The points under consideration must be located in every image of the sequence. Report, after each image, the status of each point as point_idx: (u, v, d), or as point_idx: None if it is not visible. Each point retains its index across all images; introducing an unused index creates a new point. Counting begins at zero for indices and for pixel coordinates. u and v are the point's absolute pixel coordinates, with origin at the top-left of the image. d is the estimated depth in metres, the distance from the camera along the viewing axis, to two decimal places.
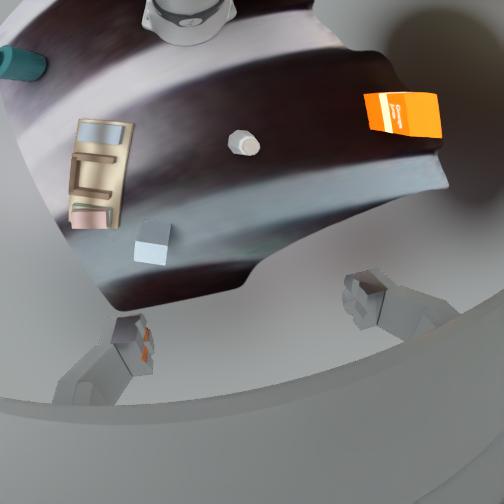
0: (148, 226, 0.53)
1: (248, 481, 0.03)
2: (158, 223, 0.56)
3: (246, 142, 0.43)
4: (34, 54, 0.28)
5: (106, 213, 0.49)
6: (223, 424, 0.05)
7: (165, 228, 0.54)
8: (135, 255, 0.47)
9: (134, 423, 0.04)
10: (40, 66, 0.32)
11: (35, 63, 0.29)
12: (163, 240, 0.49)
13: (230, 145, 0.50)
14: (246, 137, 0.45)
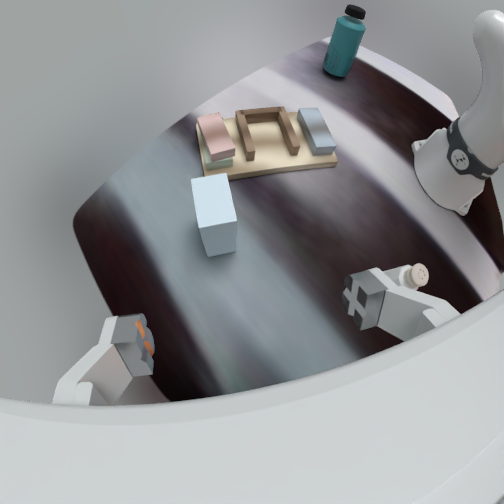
0: None
1: (248, 481, 0.03)
2: None
3: (421, 265, 0.29)
4: (353, 59, 0.47)
5: (230, 152, 0.38)
6: (223, 424, 0.05)
7: None
8: (200, 178, 0.30)
9: (134, 423, 0.04)
10: (343, 69, 0.49)
11: (347, 62, 0.46)
12: None
13: None
14: None
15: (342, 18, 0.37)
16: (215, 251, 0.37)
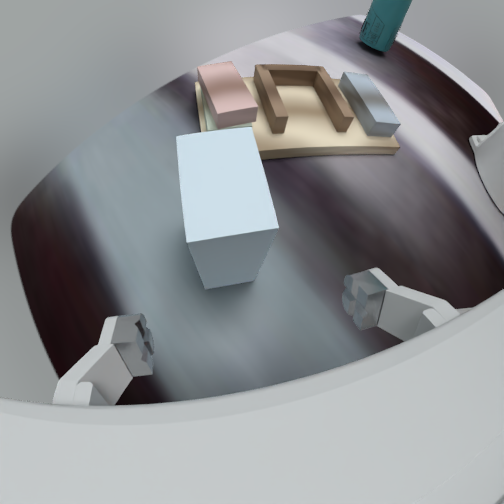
0: None
1: (248, 481, 0.03)
2: None
3: None
4: None
5: (250, 113, 0.22)
6: (223, 424, 0.05)
7: None
8: (197, 135, 0.13)
9: (134, 423, 0.04)
10: (385, 41, 0.33)
11: (391, 33, 0.31)
12: None
13: None
14: None
15: None
16: (219, 282, 0.20)
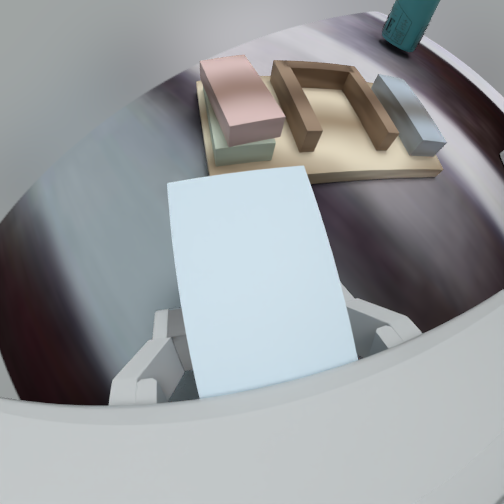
0: None
1: (248, 481, 0.03)
2: None
3: None
4: None
5: (273, 126, 0.16)
6: (223, 424, 0.05)
7: None
8: (206, 181, 0.07)
9: (135, 423, 0.04)
10: (412, 41, 0.27)
11: (418, 32, 0.25)
12: None
13: None
14: None
15: None
16: None
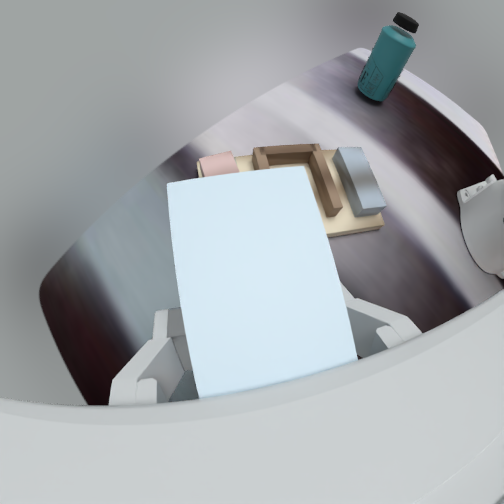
0: None
1: (248, 481, 0.03)
2: None
3: None
4: (395, 81, 0.37)
5: None
6: (223, 424, 0.05)
7: None
8: (206, 181, 0.07)
9: (134, 422, 0.04)
10: (383, 92, 0.39)
11: (389, 84, 0.37)
12: None
13: None
14: None
15: (389, 28, 0.28)
16: None
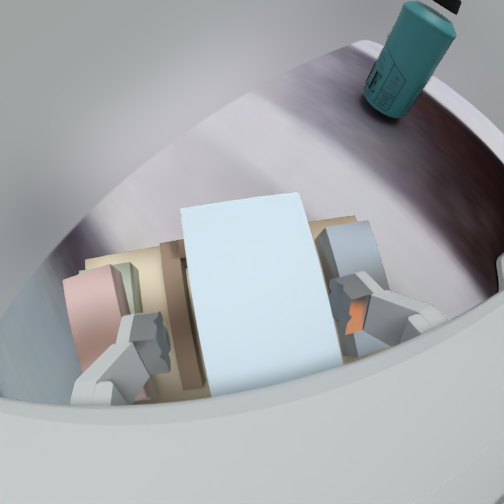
0: None
1: (248, 481, 0.03)
2: None
3: None
4: None
5: None
6: (223, 424, 0.05)
7: None
8: (214, 207, 0.09)
9: (134, 422, 0.04)
10: (403, 105, 0.25)
11: (414, 93, 0.23)
12: None
13: None
14: None
15: (416, 4, 0.14)
16: None
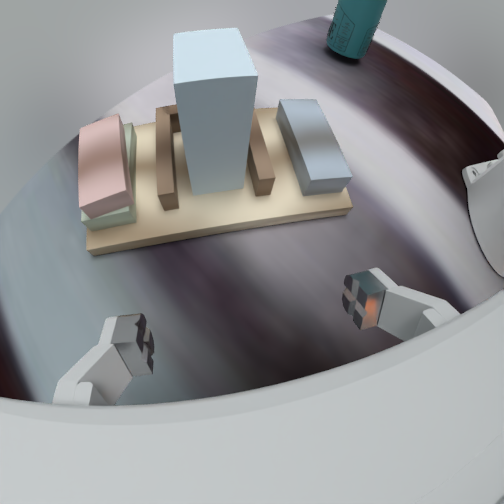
0: None
1: (248, 481, 0.03)
2: None
3: None
4: (373, 33, 0.26)
5: (120, 198, 0.17)
6: (223, 424, 0.05)
7: None
8: (191, 32, 0.12)
9: (134, 423, 0.04)
10: (358, 46, 0.28)
11: (364, 35, 0.26)
12: None
13: None
14: None
15: None
16: (207, 180, 0.19)
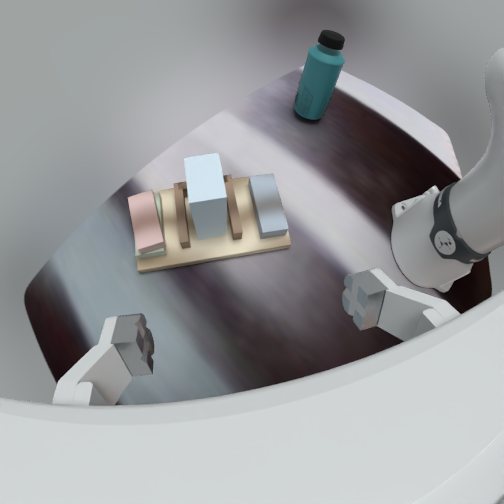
0: None
1: (248, 481, 0.03)
2: None
3: None
4: (329, 99, 0.44)
5: (159, 244, 0.34)
6: (223, 424, 0.05)
7: None
8: (193, 157, 0.30)
9: (134, 423, 0.04)
10: (316, 111, 0.45)
11: (321, 103, 0.43)
12: None
13: None
14: None
15: (315, 48, 0.34)
16: (206, 233, 0.37)
